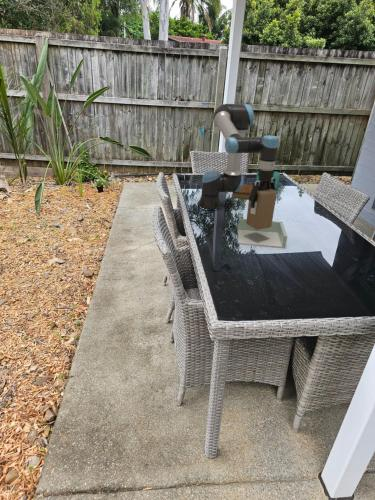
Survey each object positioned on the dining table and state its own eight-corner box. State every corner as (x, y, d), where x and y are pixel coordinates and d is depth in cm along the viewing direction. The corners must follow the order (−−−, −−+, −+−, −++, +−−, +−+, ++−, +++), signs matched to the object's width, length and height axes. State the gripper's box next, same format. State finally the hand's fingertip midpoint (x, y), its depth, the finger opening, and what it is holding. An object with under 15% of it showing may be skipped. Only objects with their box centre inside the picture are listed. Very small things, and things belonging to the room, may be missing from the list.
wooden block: (260, 221, 179) (265, 185, 170) (271, 227, 171) (278, 190, 162) (245, 223, 175) (249, 187, 166) (256, 230, 167) (261, 192, 158)
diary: (257, 201, 237) (258, 193, 235) (231, 199, 240) (232, 191, 237) (257, 192, 258) (258, 185, 255) (233, 190, 260) (234, 183, 258)
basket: (260, 183, 280) (263, 168, 274) (281, 187, 270) (283, 172, 265) (251, 188, 266) (253, 172, 260) (272, 192, 256) (274, 176, 250)
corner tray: (238, 244, 169) (239, 232, 166) (237, 229, 187) (239, 218, 184) (285, 248, 167) (287, 236, 164) (280, 232, 184) (282, 221, 181)
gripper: (256, 173, 150) (250, 218, 160) (287, 168, 163) (280, 209, 173) (244, 170, 155) (239, 213, 165) (275, 165, 168) (269, 205, 178)
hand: (260, 211), depth 169 cm, fingers closed on wooden block, 11 cm apart
